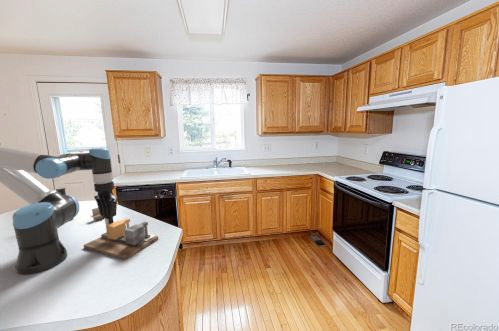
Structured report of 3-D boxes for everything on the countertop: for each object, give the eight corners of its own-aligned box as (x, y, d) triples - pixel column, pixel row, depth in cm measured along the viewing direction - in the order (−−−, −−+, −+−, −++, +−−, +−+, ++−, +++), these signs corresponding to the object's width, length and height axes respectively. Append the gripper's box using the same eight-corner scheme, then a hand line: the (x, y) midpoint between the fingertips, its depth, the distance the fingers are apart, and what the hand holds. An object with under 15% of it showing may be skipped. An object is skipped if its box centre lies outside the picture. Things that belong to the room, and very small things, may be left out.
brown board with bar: (125, 259, 90) (122, 238, 88) (84, 248, 99) (80, 228, 98) (158, 239, 106) (156, 221, 105) (120, 230, 116) (118, 214, 114)
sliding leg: (115, 240, 100) (113, 227, 99) (107, 239, 102) (105, 225, 100) (133, 231, 108) (131, 219, 107) (126, 230, 110) (124, 217, 109)
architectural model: (106, 219, 133) (104, 207, 131) (93, 223, 127) (91, 211, 126) (104, 217, 135) (102, 206, 134) (91, 221, 130) (89, 209, 128)
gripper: (121, 181, 102) (127, 228, 106) (102, 179, 107) (108, 224, 111) (105, 184, 95) (112, 236, 99) (85, 182, 100) (93, 231, 104)
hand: (110, 230), depth 105 cm, fingers closed
